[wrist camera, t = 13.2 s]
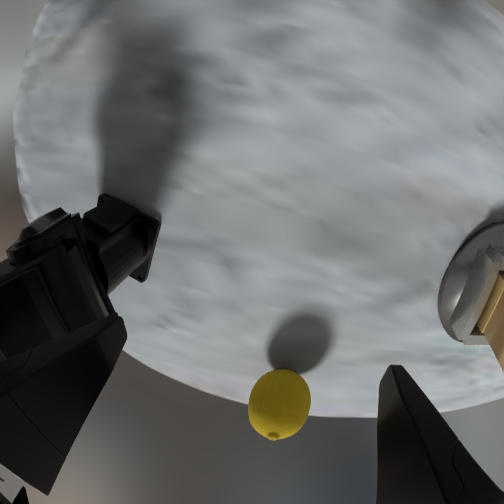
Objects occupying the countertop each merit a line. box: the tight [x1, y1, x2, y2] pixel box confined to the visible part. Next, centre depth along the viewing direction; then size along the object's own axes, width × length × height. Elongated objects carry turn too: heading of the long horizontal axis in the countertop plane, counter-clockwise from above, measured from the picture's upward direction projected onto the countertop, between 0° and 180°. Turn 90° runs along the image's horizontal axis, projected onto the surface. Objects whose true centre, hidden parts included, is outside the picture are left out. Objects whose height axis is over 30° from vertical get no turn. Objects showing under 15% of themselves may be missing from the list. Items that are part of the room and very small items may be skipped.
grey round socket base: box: [438, 221, 504, 345], centre depth 17 cm, size 12×12×3 cm
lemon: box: [248, 369, 311, 440], centre depth 23 cm, size 6×6×8 cm
